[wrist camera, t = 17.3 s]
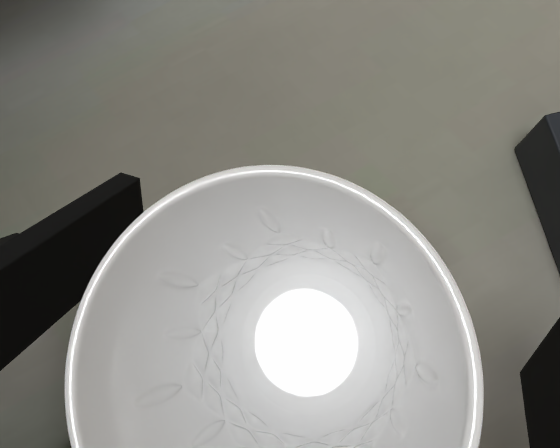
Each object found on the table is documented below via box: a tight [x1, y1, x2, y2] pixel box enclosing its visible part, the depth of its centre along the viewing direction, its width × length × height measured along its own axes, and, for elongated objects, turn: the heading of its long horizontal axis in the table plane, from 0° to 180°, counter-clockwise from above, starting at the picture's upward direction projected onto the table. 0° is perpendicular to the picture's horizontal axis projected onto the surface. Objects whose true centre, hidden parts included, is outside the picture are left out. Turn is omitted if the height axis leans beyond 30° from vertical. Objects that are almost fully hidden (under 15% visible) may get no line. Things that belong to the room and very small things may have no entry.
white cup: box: [64, 165, 484, 448], centre depth 12 cm, size 8×8×10 cm
